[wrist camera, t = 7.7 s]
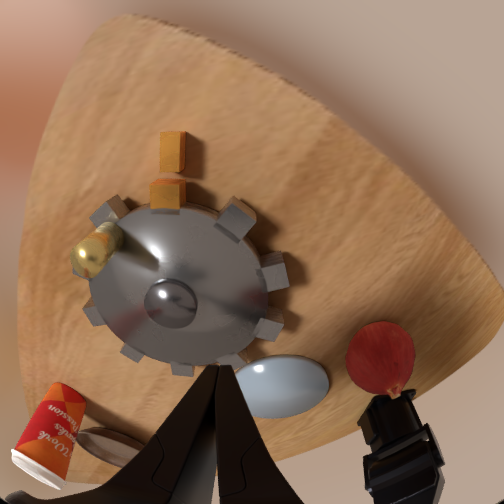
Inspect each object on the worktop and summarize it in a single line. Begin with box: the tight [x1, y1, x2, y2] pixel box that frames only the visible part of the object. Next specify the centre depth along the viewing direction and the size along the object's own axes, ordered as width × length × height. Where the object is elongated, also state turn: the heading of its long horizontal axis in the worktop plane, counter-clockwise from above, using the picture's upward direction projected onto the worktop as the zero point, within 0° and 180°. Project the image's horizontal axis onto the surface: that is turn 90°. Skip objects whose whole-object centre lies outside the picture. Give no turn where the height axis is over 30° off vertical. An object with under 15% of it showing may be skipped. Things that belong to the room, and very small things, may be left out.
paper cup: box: [11, 383, 86, 490], centre depth 22 cm, size 8×8×14 cm
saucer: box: [76, 428, 144, 468], centre depth 33 cm, size 15×15×3 cm
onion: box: [345, 321, 415, 399], centre depth 20 cm, size 6×6×8 cm
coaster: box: [235, 355, 329, 419], centre depth 26 cm, size 10×10×1 cm
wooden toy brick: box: [160, 132, 186, 172], centre depth 19 cm, size 8×15×2 cm, turn 176°
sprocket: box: [70, 179, 290, 377], centre depth 18 cm, size 16×16×5 cm
